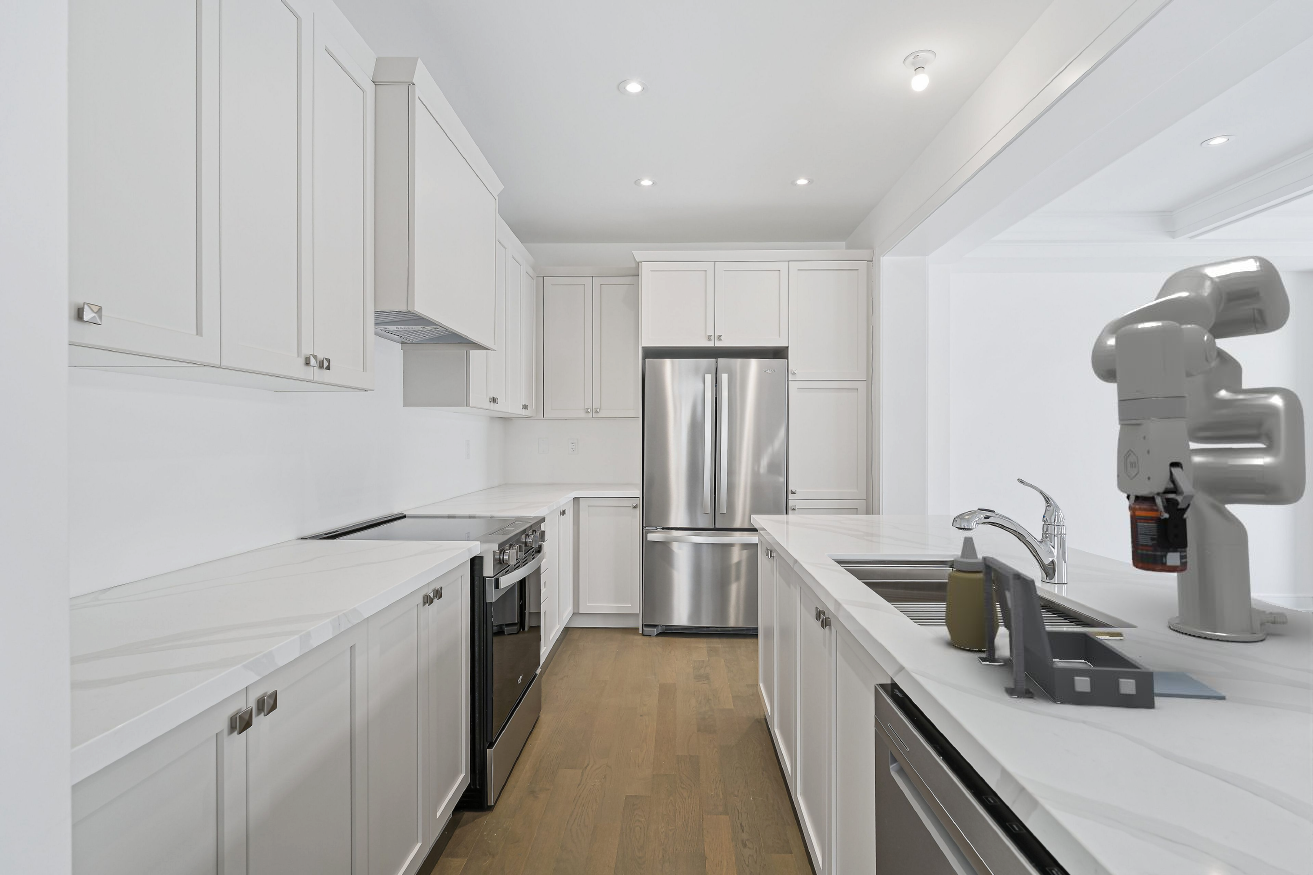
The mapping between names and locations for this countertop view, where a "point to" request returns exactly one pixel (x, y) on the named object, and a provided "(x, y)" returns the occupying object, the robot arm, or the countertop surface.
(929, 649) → the countertop surface
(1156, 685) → the mat
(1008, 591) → the lid
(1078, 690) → the case
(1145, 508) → the supplement bottle
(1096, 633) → the rod
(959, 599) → the squeeze bottle
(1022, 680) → the stay bracket
